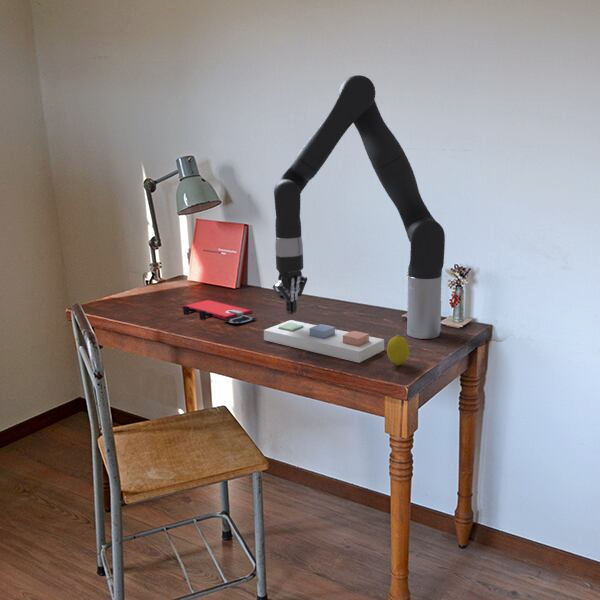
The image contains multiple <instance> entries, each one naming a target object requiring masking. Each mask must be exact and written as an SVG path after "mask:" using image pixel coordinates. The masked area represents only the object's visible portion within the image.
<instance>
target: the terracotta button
mask: <svg viewBox="0 0 600 600" xmlns="http://www.w3.org/2000/svg"><path fill="white" fill-rule="evenodd" d="M348 332H349V333H347V334H345V335H343V343H344V344H349V345H353V346H358V347H359V346H361V345H363V344H366V343H368V342H369V336H370V334H369V333H368V332H367V333H366V332H362V331H355V330H351V331H348Z"/></svg>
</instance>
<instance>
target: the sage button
mask: <svg viewBox="0 0 600 600" xmlns="http://www.w3.org/2000/svg"><path fill="white" fill-rule="evenodd" d="M301 328H303V325H299V324H295V323H287V324H284V325H282V326H279V329H281V330H286V331H290V332H294V331H296V330H299V329H301Z"/></svg>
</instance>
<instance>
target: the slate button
mask: <svg viewBox="0 0 600 600" xmlns="http://www.w3.org/2000/svg"><path fill="white" fill-rule="evenodd" d="M316 325H317V326H314V327H312V328H309V331H310V336H313V337H317V338H322V339H326V338H328V337H331V336H333V335H335V329H336V327H335V326H332V325H328V324H327V325H326V324H321V323H319V324H316Z"/></svg>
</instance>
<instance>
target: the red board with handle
mask: <svg viewBox="0 0 600 600" xmlns="http://www.w3.org/2000/svg"><path fill="white" fill-rule="evenodd" d="M180 306H181V308H182V307H183V308H182V311H183V312H182V313H184V315H186V314H188V315H190V312H191V313H195V312H194V311H197V312H199V313H198V314H199V319H200V318H202V319H201V320H203V319H204V320H206V319H205V318H207V317H212V316H213V317H212V318H216V317H217V318H216V319H220V320H222V321H224V322H226V323H227V322H228V323H231V324H233V325H234V324H235V325H239V324H242V323H246V322H250V321H253V320H257V319H258V318H257V317H253V316H248V315H250V314H253V310H252V309H249V308H244V307H240V306H237V305H232V304H229V303H224V302H221V301H216V300H211V299H204V300H199V301H195V302H191V303H187V304H182V305H180ZM197 312H196V313H197ZM249 313H250V314H249ZM246 314H247V315H246Z"/></svg>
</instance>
